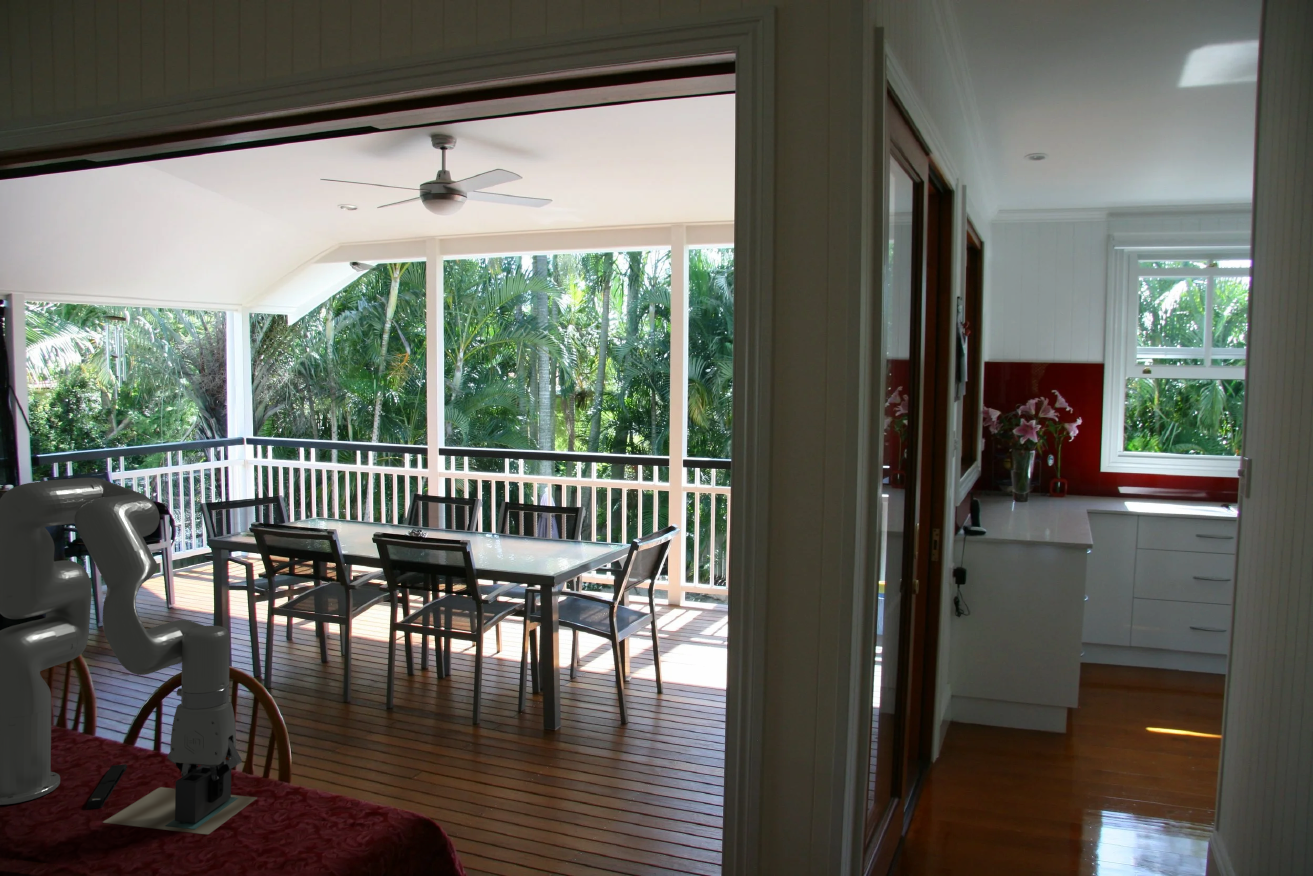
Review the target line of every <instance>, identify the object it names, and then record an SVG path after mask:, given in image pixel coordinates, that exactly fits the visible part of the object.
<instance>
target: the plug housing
mask: <svg viewBox="0 0 1313 876" xmlns="http://www.w3.org/2000/svg"><path fill="white" fill-rule="evenodd" d="M228 762H229V759H226V763H228ZM218 770H219V767H218ZM210 780H211V772H210V766H206V765H199V766H198V768H196V769H195V770H193V771H191V772H190V773H188V774H187V775H185V776H183V777H182V776H181V777H180V778H179V779H177V780H176V781H175V788H174V789H175V821H180V822H190V823H196V822H197V821H199V820H200V819H202V818H203V817H204V816H206V815H207V814H209V813H210V812H211V811H213V810H214V809H216V808H217V807H219V806H220V805H221V804H223V803H224V802H226V801H227V800H228V799H230V798H231V795H232V768H231V769H230V770H229V771H228V772H227V773H226V774H225V775H224V783H223V794H222V796H221V797H220V798H218V799H217V800H215V801H214V802H212V803H209V802H208V788H209V781H210Z"/></svg>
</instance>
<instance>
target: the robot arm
mask: <svg viewBox="0 0 1313 876" xmlns="http://www.w3.org/2000/svg"><path fill="white" fill-rule="evenodd" d="M160 516H161V515H160V512H159V509H158V507H157V505H156V503H155V502H154V501H153V500H152V499H151V498H149V497H148V496H146V495H145V494H144V493H141V492H138V491H136V490H133V489H130V488H128V487H125V486H121V485H119V484H116V483H114V482H111V481H108V480H106V479H102V478H97V477H79V478H78V477H77V478H66V479H50V480H49V479H48V480H38V481H33V482H32V481H31V482H28V483H27V482H26V483H23V484H20V485H16V486H14V487H12V488H10V489H8V490H7V491H6V492H5V493H3V494H2V496H1V497H0V615H1V616H2V617H4V618H6V619H10V620H22V619H24V620H25V619H27V618H33V617H37V616H42V615H45V617H43V618H40V619H36V620H30V621H27V622H23V623H20V624H15V625H11V626H9V627H8V626H7V627H5V628H3V629H1V630H0V806H3V805H13V804H19V803H25V802H27V801H28V802H29V801H31V800H35V799H39V798H41V797H43V796H45V795H47V794H49V793H51V792H53V791H54V790H56V789H57V788H58V787H59V786H60V784H61V776H60V774H59V773H57V772H55V771H52V770H51V768H52V767H51V761H52V759H51V758H52V757H51V756H52V755H51V754H52V753H51V752H52V750H51V749H52V747H51V746H52V693H51V689H50V687H49V684H47V683H46V681H45V679H43V677H42V675H41V671H44V670H46V669H49V668H52V667H56V666H58V665H61V664H65V663H68V662H70V661H73V660H75V659H77V658H78V657H79V656H81V655H82V654H83V652H84V651H85V649H86V647H87V645H88V642H89V634H90V623H91V622H90V621H91V608H92V606H91V605H92V581H91V578H90V576H89V573H88V571H87V570H86V569H85V568H84V566H82V565H81V564H79V563H78V562H76V561H73V560H67V559H66V560H56V561H55V548H56V546H55V543H54V539H53V537H52V535H51V534H50V532H49V531H48V530H47V528H48V527H54V526H62V525H63V526H64V525H73V524H74V525H75V528H76V530H77V533H78V534H79V536H80V538H81V540H82V541H83V544H84V546H85V547H86V549H87V552H88V553H89V555H90V556H91V559H92V561H93V562H94V564H95V566H96V569H97V570H98V572H99V574H100V576H101V577H102V579H103V581H104V583H105V585H106V595H105V597H104V601H103V604H102V605H103V606H102V629H103V633H104V636H105V638H106V640H107V642H108V644H109V646H110V648H111V650H112V652H113V654H114V655H115V657H116V659H117V661H118V662H119V663H120V665H121V666H122V667H123V668H124V669H125V670H126V671H128V672H129V673H131V674H134V675H138V676H145V675H149V674H153V673H155V672H158V671H161V670H164V669H166V668H168V667H172V666H176V665H178V664H181V688H179V687H178V689H177V690H176V696H178V697H180V698H181V701H180V702H181V703H179V704H177V706H176V708H175V712H174V716H173V722H172V726H171V727H172V728H171V735H170V746H169V747H170V749H169V750H170V751H169V753H168V754H167V759H168V760H169V761H170V762H172V763H173V764H175V766H176V768H178V770H179V772H181V773H180V774H181V778H182V777H183V776H185V775H187V774H188V773H190V772H191V771H193V770H195V769H196V768H198V767H199V766H201V765H206V766H210V772H211V780H210V781H209V788H208V802H209V803H212V802H214V801H215V800H217V799H218V798H220V797H221V796H222V794H223V783H224V775H225V774H226V773H227V772H228V771H229V770H230V769H231V770H232V769H233V768H235V767H237V766H238V765H239V764H241V763H242V762H243V761H242V760H243V759H242V758H241V756H240V754H239V752H238V750H237V731H236V728H237V727H236V720H235V719H236V718H235V713H234V712H235V711H234V708H233V704H232V702H230V701H229V700H230V649H231V648H230V647H231V642H230V641H231V639H230V638H231V637H230V636H231V635H230V632H229V630H228V629H227V628H226V627H224V626H221V625H204V624H201V623H199V622H195V621H192V620H189V619H180V620H179V619H178V620H173V621H170V622H166V623H164V624H159V625H156V626H153V627H150V628H147V629H146V627H145V626H144V625H143V622H142V620H141V619H140V616H139V614H138V609H137V605H136V602H137V596H138V592H139V590H140V588H141V587H142V585H143V584H144V583H145V582H147V581H148V580H149V579H151V577H153V576H154V574H155V573H156V572H157V570H158V562H157V561H156V559H155V557H154V556H153V554H152V552H151V550H150V548H149V547H148V544H147V542H146V541H145V539H144V537H147V536H149V535H151V534H153V533H154V532H156V530H157V528H158V527H159V524H160ZM226 758H228V760H229V762H228V763H226V760H227V759H226ZM218 767H219V770H218Z"/></svg>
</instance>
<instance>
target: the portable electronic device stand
mask: <svg viewBox="0 0 1313 876" xmlns="http://www.w3.org/2000/svg"><path fill="white" fill-rule="evenodd" d="M127 769H128V765H127V763H126V764H125V763H124V764H114V765H110V768H109V769H108V770H107V772H106V773H105V775H104V776H103V778H102V779H101V780H100V781H99V782H100V783H98V785H97V787H96V788H95V790H94V791H93V793H92V794H91V796H90V797H89V799H88V800H87V803H86V810H87V811H88V810H94V809H95V810H96V809H97V810H99V809H102V808H103V807H104V806H105V802H106V801H108V799H109V797H110V795H111V794H112V792H113V791H114V789H115V788H116V786H117V784H118V783H119V782H120V780H121V778H122V776H123V774H124V773H125V772H126V771H127Z"/></svg>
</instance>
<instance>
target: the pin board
mask: <svg viewBox="0 0 1313 876" xmlns="http://www.w3.org/2000/svg"><path fill="white" fill-rule="evenodd" d="M175 789H176V788H173V787H172V788H171V787H163V786H161V787H158V788H156V789H154V790H153V791H151V792H150V793H148V794H147V795H145V796H143V797H141V798H140V799H138V800H137V801H135V802H134V803H133V802H132V803H131V804H130V805H128V806H126V807H125V808H123V809H121V810H119V812H117V813H115V814H114V815H112V816H111V817H110V816H109V818H107V819H105V820H103V821H102V824H103V823H104V824H111V825H112V824H113V825H122V826H128V827H138V828H139V827H140V828H146V829H157V830H164V831H165V830H166V831H173V832H182V833H189V834H199V835H210V834H211V833H213V832H214V831H215V830H216V829H218V828H219V827H220V826H222V825H223V824H224V823H226V822H227V821H228V820H230V819H231V818H233V817H234V816H235V815H237V814H238V813H240V812H241V811H242V810H243V809H245V808H246V807H248V805H250V804H251V803H253V802H254V801H256V800H257V799H258V797H255V796H248V795H247V796H245V795H238V794H237V795H236V794H231V798H230V799H228V800H227V801H226V802H224V803H223V804H221V805H220V806H219V807H217V808H216V809H214V810H213V811H211V812H210V813H209V814H207V815H206V816H204V817H203V818H202V819H200V820H199V821H197V822H196V823H190V822H180V821H175Z"/></svg>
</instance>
